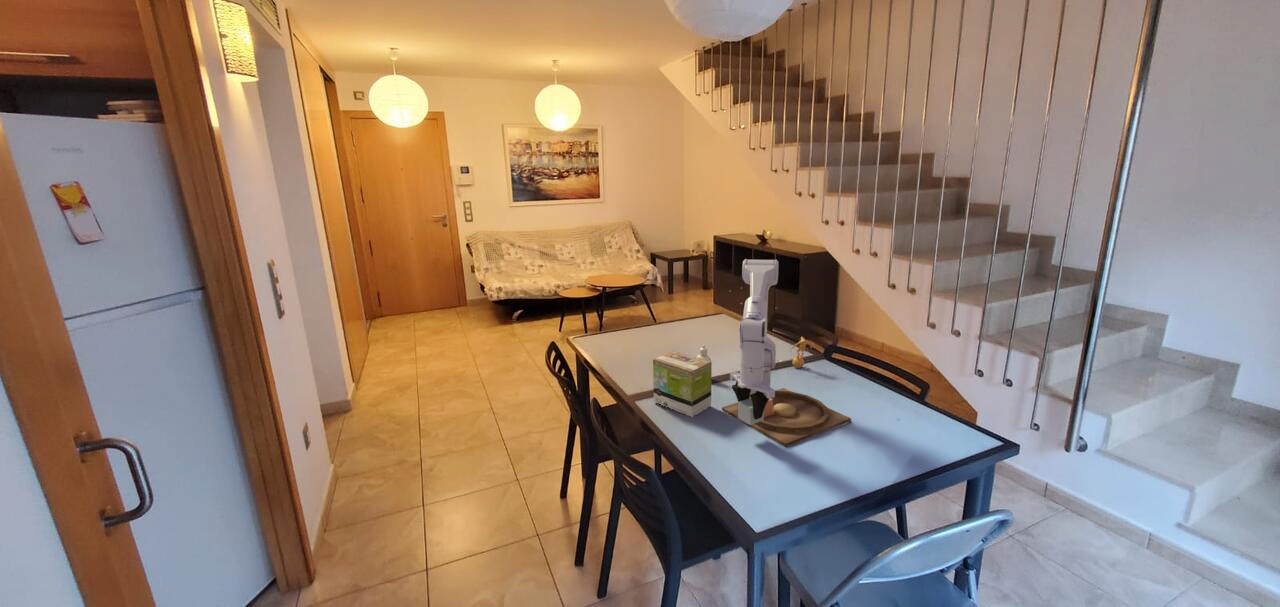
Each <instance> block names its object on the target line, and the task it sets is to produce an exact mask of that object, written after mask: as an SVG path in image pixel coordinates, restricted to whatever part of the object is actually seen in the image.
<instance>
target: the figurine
mask: <svg viewBox="0 0 1280 607" xmlns="http://www.w3.org/2000/svg"><path fill="white" fill-rule="evenodd" d="M807 344H810V346H809V348H810V349H813V343H812V342H811V341H808V340H806V339H805V338H804V336H801V337H800V340H799V341H798V342H797V343H795V344H794V345H793V346H792V347H791V348H790V350H789V352H791V351H792V350H793V349H794V348H795V347H796V346H799V347H798V348H797V349H796V355H797V356H795V357H794V358H793V359H792V365H793V367H794V368H798V369H800V368H803V367H804V365H805V360H804V358H803V356H804V351H805V350H806V346H807ZM800 352H801V356H800Z"/></svg>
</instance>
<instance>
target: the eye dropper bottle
mask: <svg viewBox="0 0 1280 607" xmlns="http://www.w3.org/2000/svg"><path fill="white" fill-rule="evenodd" d="M696 358H700V359H703V360H707V361H710V362H712V360H711V357H710V355H708V348H707V347H706V345H705V344H702V346H701V347H700V348H699V354H698V355H697V356H696Z"/></svg>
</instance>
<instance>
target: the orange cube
mask: <svg viewBox="0 0 1280 607" xmlns="http://www.w3.org/2000/svg"><path fill="white" fill-rule="evenodd" d="M750 398H751V397H750ZM772 414H773V399H771V398H770V399H769V400H768V402H767V404H766V406H765V408H764V417H767V416H770V415H772Z"/></svg>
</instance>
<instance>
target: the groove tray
mask: <svg viewBox="0 0 1280 607" xmlns="http://www.w3.org/2000/svg"><path fill="white" fill-rule="evenodd" d="M749 398H750V397H749ZM771 399H773V414H772V415H770V416H767V417H764V420H763V421H760V422H758V423H755V424H752V425H749V424H747V423H746V422H744V421H742V420H740V419H739V418H738V402H735V403H731V404H728V405H726V406H722V407H721V411H722V410H723V411H724V413H725V412H726V413H725V414H727V413H728V414H727V415H729V416H730V415H731V416H730V417H733V418H734V419H735V420H738V421H740V422H741V423H743V424H744V425H746V426H747V427H750V428H751V429H753V430H755V431H756V432H758V433H760V434H761V435H762V436H765V437H767V438H768V439H770V440H772V441H773V442H776V443H777V444H779V445H781V446H782V447H783V448H787V447H789V446H793V445H795V444H798V443H800V442H803V441H806V440H807V439H810V438H813V437H815V436H818V435H820V434H823V433H825V432H828V431H830V430H833V429H836V428H838V427H841V426H842V425H846V424H849V423H850V422H851V421H852V418H851V417H849V416H847V415H845V414H843V413H840V412H838V411H836V410H834V409H831V408H829V407H828V406H826V405H825V404H824V403H823V402H822V401H821V400H819V399H816V398H814V397H812V396H810V395H807V394H803V393H799V392H795V391H792V390H789V389H787V388H785V387H783V388H780V389H775V397H773V398H771ZM723 411H722V412H723Z"/></svg>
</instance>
